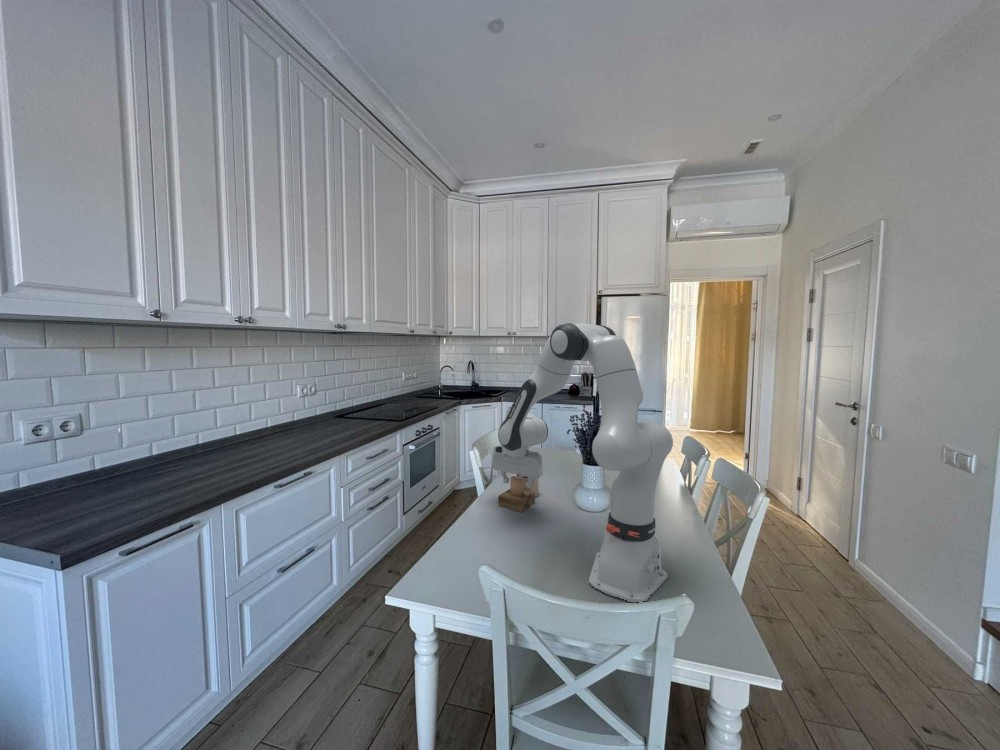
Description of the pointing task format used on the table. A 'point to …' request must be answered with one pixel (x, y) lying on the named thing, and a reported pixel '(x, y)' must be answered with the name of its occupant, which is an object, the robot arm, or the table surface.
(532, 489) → the teacup with lid
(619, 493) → the robot arm
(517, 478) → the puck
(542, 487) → the table surface
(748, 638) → the table surface
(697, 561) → the table surface
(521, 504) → the base
